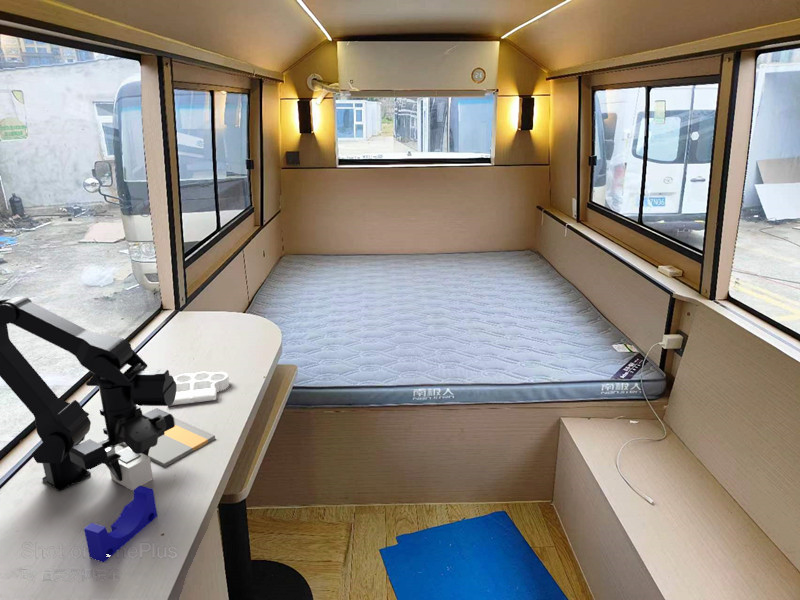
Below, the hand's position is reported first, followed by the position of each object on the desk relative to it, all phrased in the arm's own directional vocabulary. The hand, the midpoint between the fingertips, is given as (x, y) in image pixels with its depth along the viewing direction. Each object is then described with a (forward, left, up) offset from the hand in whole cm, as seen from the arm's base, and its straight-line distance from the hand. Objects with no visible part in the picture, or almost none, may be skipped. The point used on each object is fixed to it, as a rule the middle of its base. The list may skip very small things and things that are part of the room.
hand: (131, 474), depth 114 cm
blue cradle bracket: (-10, -13, -2) cm, 17 cm away
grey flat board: (+12, +8, -1) cm, 15 cm away
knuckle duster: (+31, +21, -2) cm, 37 cm away
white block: (0, 0, -1) cm, 1 cm away
